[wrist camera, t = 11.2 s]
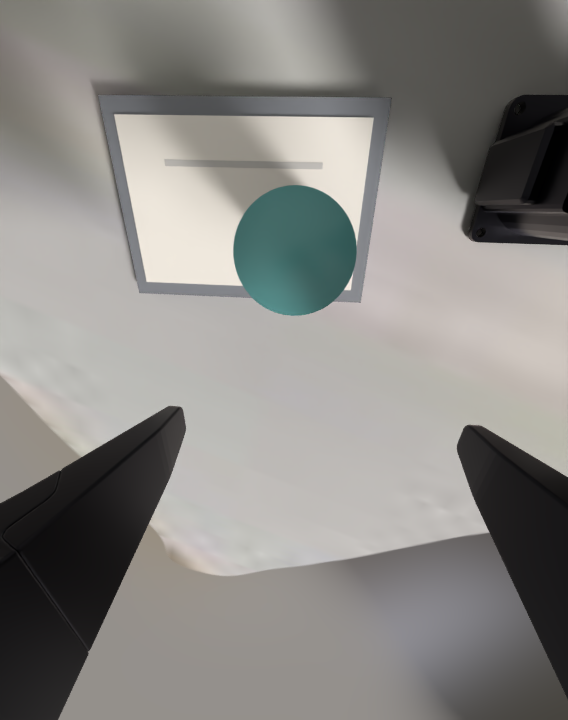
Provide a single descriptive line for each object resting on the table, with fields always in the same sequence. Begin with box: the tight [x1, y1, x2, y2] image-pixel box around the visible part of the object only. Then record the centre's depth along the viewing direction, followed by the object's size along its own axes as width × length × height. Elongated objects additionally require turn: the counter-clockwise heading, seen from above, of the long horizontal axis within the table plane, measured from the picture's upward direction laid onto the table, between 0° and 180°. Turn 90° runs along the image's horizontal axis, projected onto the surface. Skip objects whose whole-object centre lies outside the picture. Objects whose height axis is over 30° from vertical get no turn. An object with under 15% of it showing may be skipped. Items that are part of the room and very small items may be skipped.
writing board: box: [98, 95, 392, 303], centre depth 17 cm, size 14×10×1 cm
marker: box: [233, 185, 357, 316], centre depth 12 cm, size 4×4×9 cm
